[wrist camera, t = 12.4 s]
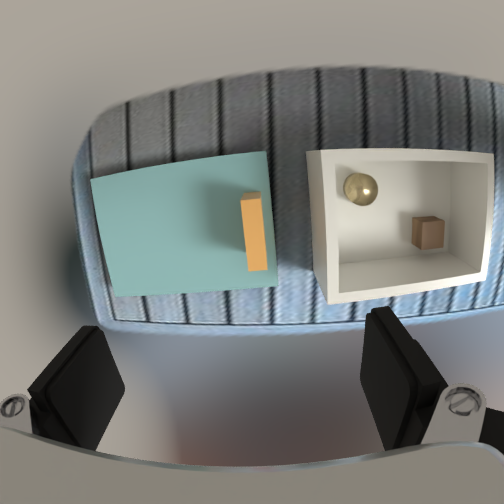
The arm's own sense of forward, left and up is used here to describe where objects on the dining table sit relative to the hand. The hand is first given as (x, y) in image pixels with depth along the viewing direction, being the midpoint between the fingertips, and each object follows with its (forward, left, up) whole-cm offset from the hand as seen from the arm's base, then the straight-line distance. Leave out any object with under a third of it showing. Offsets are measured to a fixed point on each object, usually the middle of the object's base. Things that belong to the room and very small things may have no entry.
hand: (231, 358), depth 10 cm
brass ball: (-11, -2, -22) cm, 25 cm away
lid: (+7, 0, -24) cm, 25 cm away
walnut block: (-19, +3, -22) cm, 29 cm away
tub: (-15, 0, -23) cm, 28 cm away
